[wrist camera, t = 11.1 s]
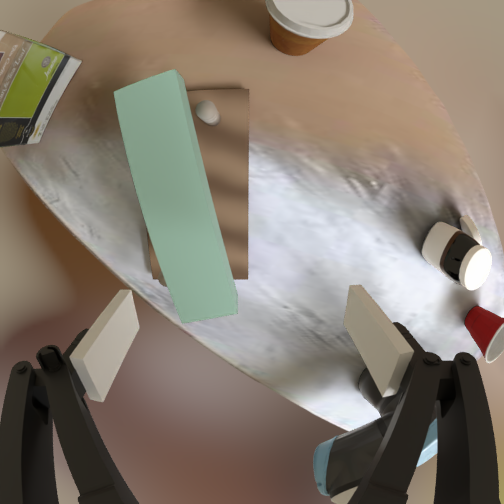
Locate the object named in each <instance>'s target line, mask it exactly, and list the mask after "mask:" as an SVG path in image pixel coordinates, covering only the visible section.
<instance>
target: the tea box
mask: <svg viewBox="0 0 504 504" xmlns="http://www.w3.org/2000/svg"><path fill="white" fill-rule="evenodd" d="M81 62H82V61H81V60H79V59H76V58H74V57H72V56H70V55H68V54H66V53H64V52H62V51H59V50H57V49H55V48H53V47H50V46H48V45H45V44H43V43H40V42H37V41H34V40H32V39H29V38H26V37H22V36H19V35H16V34H12V33H9V32H6V31H3V30H0V147H7V146H16V145H25V144H33V143H39V141H40V139H41V137H42V134H43V132H44V130H45V128H46V125H47V123H48V121H49V119H50V117H51V115H52V113H53V111H54V109H55V107H56V105H57V103H58V101H59V99H60V97H61V96H62V94H63V92H64V90H65V88H66V87H67V85H68V83H69V82H70V80H71V78H72V77H73V75H74V73H75V72H76V70H77V69H78V67H79V65H80V64H81Z"/></svg>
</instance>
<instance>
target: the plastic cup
mask: <svg viewBox="0 0 504 504" xmlns="http://www.w3.org/2000/svg"><path fill="white" fill-rule="evenodd" d="M465 326H466V328H467V329H468V331H469V332H470V334H471V336H472V338H473V339H474V341H475V342H476V344H477V345H478V347H479V348H480V350H481V352H482V353H483V356H484V358H485V361H486V362H487V363H491V362H493V361H494V360H495V359H496V358H497V357H499V355H500V354H501V353H502V352H503V350H504V318H501V317H499V316H498V315H496V314H494V313H492V312H490V311H488V310H485V309H483V308H482V307H479V306H475V307H474V308H472V309H471V310H470V312H469V313H468V315H467V316H466V319H465Z"/></svg>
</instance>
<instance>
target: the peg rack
mask: <svg viewBox="0 0 504 504" xmlns="http://www.w3.org/2000/svg"><path fill="white" fill-rule="evenodd" d="M186 92H187V97H188V101H189V105H190V110H191V114H192V118H193V123H194V127H195V131H196V136H197V140H198V144H199V148H200V152H201V156H202V160H203V165H204V169H205V173H206V177H207V181H208V185H209V189H210V193H211V197H212V200H213V204H214V208H215V212H216V216H217V220H218V224H219V228H220V231H221V235H222V239H223V243H224V246H225V250H226V254H227V258H228V261H229V265H230V269H231V272H232V276H233V279H248V167H249V89H216V90H196V91H186ZM146 227H147V226H146ZM147 237H148V246H149V254H150V262H151V269H152V276H153V279H158V280H159V282H160V284H161V285H163V286H165V287H167V284H166V281H165V279H164V276H163V273H162V271H161V268H160V265H159V262H158V259H157V256H156V253H155V251H154V248H153V245H152V242H151V239H150V236H149V232H148V229H147Z"/></svg>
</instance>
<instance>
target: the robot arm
mask: <svg viewBox="0 0 504 504" xmlns="http://www.w3.org/2000/svg"><path fill="white" fill-rule="evenodd" d="M343 324H344V326H345V327H346V329H347V331H348V333H349V335H350V336H351V338H352V340H353V342H354V344H355V346H356V347H357V349H358V351H359V353H360V355H361V357H362V359H363V360H364V362H365V364H366V366H367V368H366V369H365V370H364V372H363V373H362V375H361V377H360V380H359V389H360V391H361V394H362V396H363V397H364V398H365V399H366V400H367V401H368V402H369V403H370V404H371V405H372V406H374V407H375V408H376V409H377V410H378V411H379V413H380V415H381V418H379V419H377V420H375V421H372V422H370V423H368V424H366V425H364V426H361V427H359V428H357V429H354V430H352V431H350V432H347V433H345V434H342V435H340V436H335V437H334V438H333V439H330V440H328V441H326V442H323V443H321V444H320V445H319V446H318V447H317V448H316V450H315V453H314V461H313V462H314V463H313V464H314V475H315V480H316V482H317V487H318V489H319V491H320V493H321V494H323V495H327V496H329V495H330V498H331V501H332V502H334V503H336V504H406V502H407V499H408V495H407V494H406V492H407V489H408V486H409V484H410V482H411V479H412V477H413V474H414V472H415V469H416V467H418V466H419V465H421V464H423V463H424V462H426V461H427V460H429V459H430V458H431V457H433V456H434V455H435V454H436V453H437V474H436V486H435V496H434V504H501V503H500V500H499V480H498V464H497V454H496V446H495V438H494V432H493V426H492V421H491V415H490V410H489V406H488V401H487V397H486V393H485V389H484V385H483V382H482V378H481V375H480V371H479V368H478V364H477V361H476V359H475V358H474V357H473V356H472V355H471V354H469V353H465V352H460V353H458V354H456V356H455V358H454V360H453V361H442V360H441V358H440V357H439V356H438V355H436V354H434V353H431V352H425V351H424V350H423V348H422V347H421V346H420V345H419V343H418V342H417V341H416V340H415V338H413V336H412V335H411V333H409V331H408V330H407V329H406V327H405V326H403V325H401V324H400V323H398V322H394V323H392V322H391V321H390V319H389V318H388V317H387V316H386V314H385V313H384V312H383V311H382V309H381V308H380V307H379V306H378V305H377V303H376V302H375V301H374V300H373V299H372V297H371V296H370V295H369V294H368V293H367V291H366V290H365V289H364V288H363V287H362V285H350V286H349V293H348V300H347V306H346V312H345V317H344V323H343ZM139 328H140V326H139V322H138V318H137V314H136V310H135V305H134V301H133V296H132V291H131V290H120V291H119V292H118V293H117V294H116V296H115V297H114V298H113V299H112V301H111V302H110V303H109V304H108V306H107V307H106V308H105V310H104V311H103V312H102V313H101V315H100V316H99V317H98V319H97V320H96V321H95V322H94V324H93V325H92V326H91V328H90V329H85V330H83V331H82V332H80V333H79V334H78V335H77V337H76V338H75V340H74V341H73V342H72V343H71V345H70V346H69V347H68V349H67V350H66V352H65V353H64V354H63V355H62V354H61V351H60V349H59V348H58V347H57V346H55V345H48V346H45V347H43V348H41V349H40V350H39V351H38V353H37V355H36V358H37V360H38V362H39V364H40V366H41V368H42V369H33V367H32V365H31V363H30V362H28V361H21V362H18V363H17V364H15V365H14V367H13V368H12V370H11V374H10V378H9V382H8V386H7V390H6V395H5V399H4V404H3V410H2V415H1V422H0V504H59V502H58V495H57V488H56V480H55V470H54V456H53V420H54V424H55V427H56V431H57V434H58V437H59V441H60V444H61V447H62V450H63V453H64V456H65V458H66V461H67V464H68V466H69V469H70V471H71V474H72V477H73V479H74V481H75V484H76V486H77V488H78V490H79V493H80V496H79V497H78V502H79V504H139V502H138V501H137V499H136V498H135V496H134V495H133V493H132V492H131V490H130V489H129V488H128V486H127V484H126V482H125V481H124V479H123V477H122V476H121V474H120V472H119V470H118V469H117V467H116V465H115V463H114V462H113V460H112V458H111V456H110V454H109V452H108V450H107V448H106V446H105V445H104V442H103V440H102V438H101V436H100V434H99V432H98V430H97V428H96V425H95V423H94V421H93V418H92V416H91V414H90V411H89V409H88V406H87V404H86V401H85V400H84V398H83V396H84V394H85V392H87V394H88V396H89V398H90V399H91V400H95V401H100V402H103V401H104V399H105V397H106V395H107V393H108V390H109V388H110V386H111V384H112V382H113V380H114V378H115V376H116V374H117V372H118V370H119V368H120V365H121V363H122V361H123V359H124V357H125V355H126V353H127V351H128V350H129V348H130V346H131V344H132V342H133V340H134V338H135V336H136V334H137V332H138V330H139Z"/></svg>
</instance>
